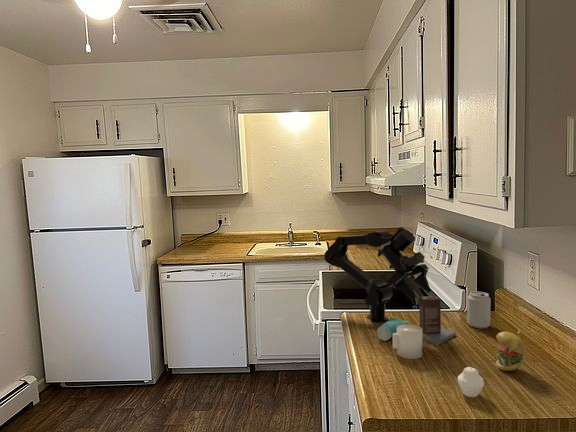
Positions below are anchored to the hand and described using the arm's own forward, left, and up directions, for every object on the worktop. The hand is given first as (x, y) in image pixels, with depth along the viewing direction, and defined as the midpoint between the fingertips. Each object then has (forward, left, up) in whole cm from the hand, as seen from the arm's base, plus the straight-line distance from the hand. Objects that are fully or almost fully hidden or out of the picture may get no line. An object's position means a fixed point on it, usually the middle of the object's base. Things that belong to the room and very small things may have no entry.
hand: (422, 294), depth 143 cm
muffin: (+40, -6, -14) cm, 43 cm away
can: (-2, +23, -14) cm, 26 cm away
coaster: (+3, +2, -14) cm, 14 cm away
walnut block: (+10, -6, -14) cm, 18 cm away
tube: (+5, -16, -11) cm, 20 cm away
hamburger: (+30, +12, -14) cm, 35 cm away
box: (+2, +1, -13) cm, 13 cm away
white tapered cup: (+15, -11, -14) cm, 23 cm away
